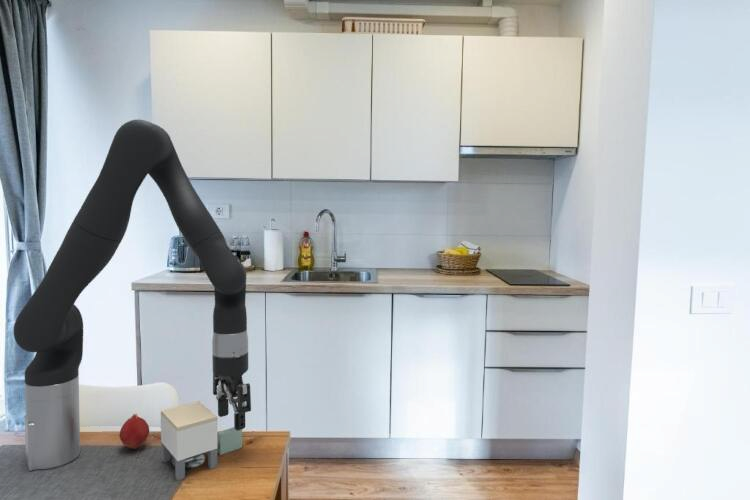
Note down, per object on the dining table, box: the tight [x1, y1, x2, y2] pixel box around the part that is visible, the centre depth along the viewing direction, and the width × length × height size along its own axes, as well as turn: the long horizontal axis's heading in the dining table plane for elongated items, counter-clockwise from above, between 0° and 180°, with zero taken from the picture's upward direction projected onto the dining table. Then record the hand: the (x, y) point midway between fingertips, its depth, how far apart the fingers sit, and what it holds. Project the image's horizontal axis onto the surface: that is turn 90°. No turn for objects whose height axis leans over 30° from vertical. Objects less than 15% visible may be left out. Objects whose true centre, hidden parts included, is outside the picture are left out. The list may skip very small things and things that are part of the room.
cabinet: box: [160, 400, 218, 482], centre depth 97 cm, size 8×10×11 cm
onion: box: [119, 413, 150, 450], centre depth 103 cm, size 6×6×8 cm
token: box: [185, 454, 206, 469], centre depth 98 cm, size 4×4×1 cm
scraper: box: [171, 426, 243, 467], centre depth 100 cm, size 14×5×4 cm, turn 132°
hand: (231, 422), depth 103 cm, fingers open, 8 cm apart
